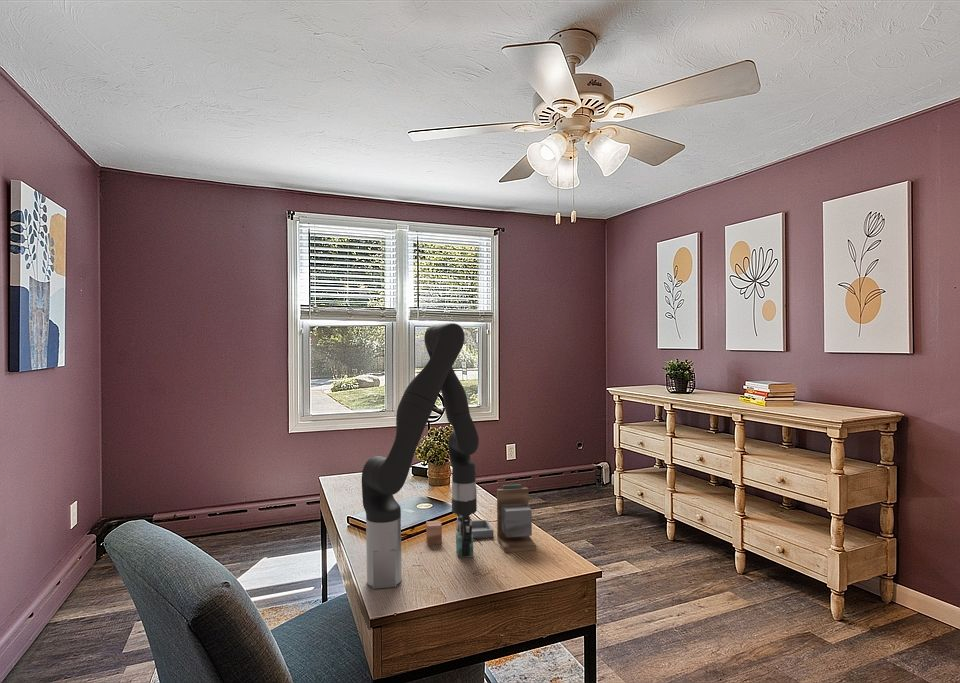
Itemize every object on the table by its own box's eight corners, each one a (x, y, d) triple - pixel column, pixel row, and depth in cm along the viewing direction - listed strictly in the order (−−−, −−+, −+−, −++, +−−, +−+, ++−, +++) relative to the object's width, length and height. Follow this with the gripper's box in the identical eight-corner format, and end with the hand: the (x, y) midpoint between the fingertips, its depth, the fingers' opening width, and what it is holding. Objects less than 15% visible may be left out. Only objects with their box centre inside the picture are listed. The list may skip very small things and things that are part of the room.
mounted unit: (536, 549, 174) (535, 492, 174) (504, 552, 172) (503, 494, 172) (527, 537, 185) (526, 483, 184) (497, 539, 183) (496, 485, 183)
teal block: (473, 556, 170) (473, 536, 169) (458, 557, 169) (458, 537, 169) (470, 550, 174) (470, 531, 174) (456, 551, 173) (456, 532, 173)
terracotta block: (441, 544, 180) (441, 525, 180) (427, 545, 179) (427, 526, 179) (440, 539, 184) (440, 520, 184) (426, 540, 183) (426, 521, 183)
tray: (493, 537, 185) (493, 530, 185) (461, 540, 183) (461, 532, 183) (487, 526, 195) (487, 519, 195) (456, 528, 193) (456, 521, 193)
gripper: (448, 490, 177) (449, 544, 178) (454, 503, 163) (455, 563, 164) (472, 488, 179) (473, 543, 179) (480, 502, 165) (481, 561, 165)
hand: (464, 552), depth 171 cm, fingers closed on teal block, 4 cm apart
